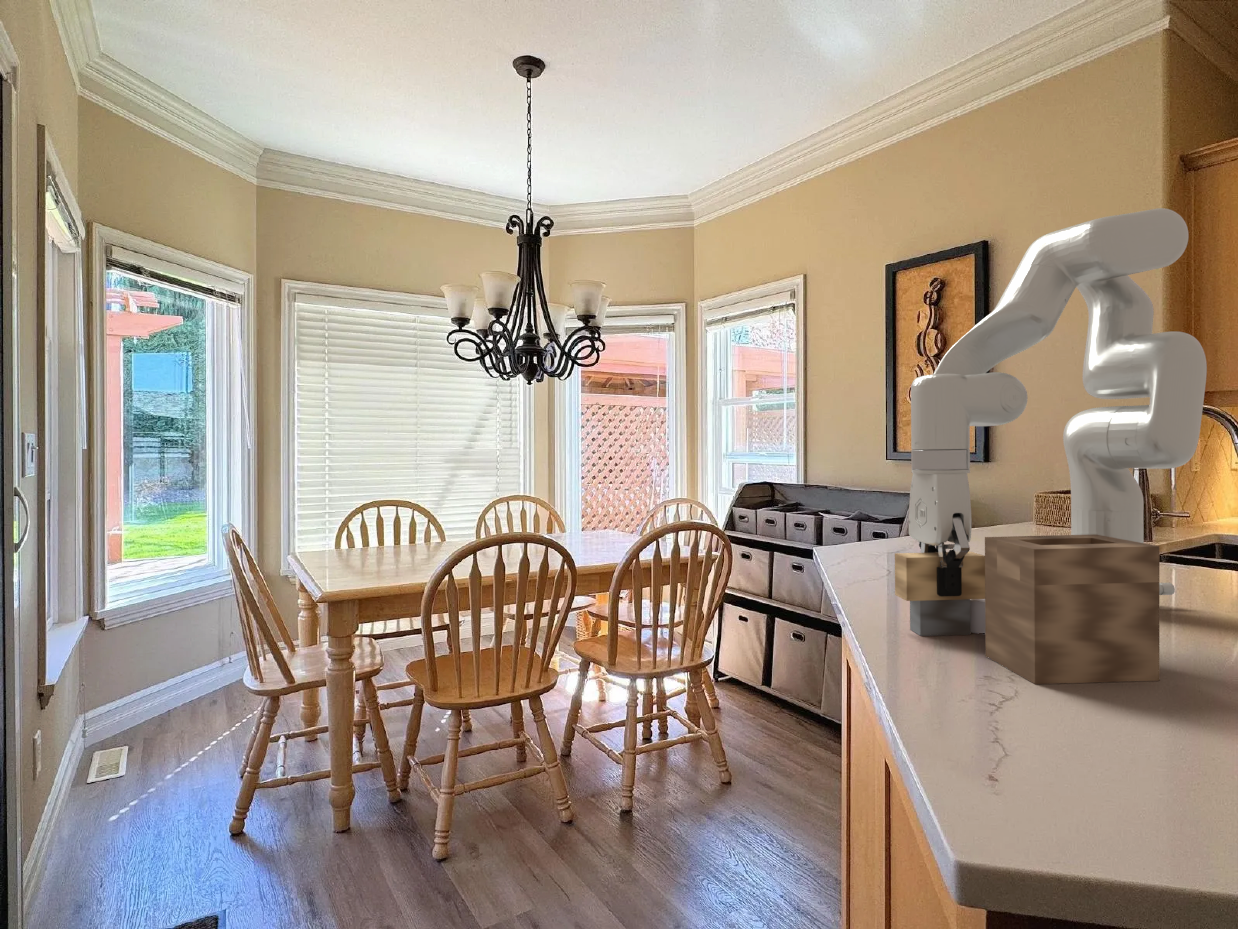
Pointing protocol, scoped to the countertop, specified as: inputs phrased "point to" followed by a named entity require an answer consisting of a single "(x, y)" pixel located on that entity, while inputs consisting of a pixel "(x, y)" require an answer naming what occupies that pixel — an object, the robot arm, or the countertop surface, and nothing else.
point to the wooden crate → (1073, 608)
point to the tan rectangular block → (921, 590)
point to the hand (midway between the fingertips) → (941, 591)
